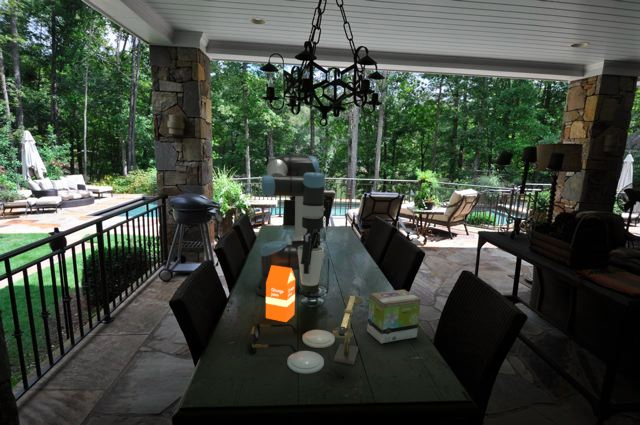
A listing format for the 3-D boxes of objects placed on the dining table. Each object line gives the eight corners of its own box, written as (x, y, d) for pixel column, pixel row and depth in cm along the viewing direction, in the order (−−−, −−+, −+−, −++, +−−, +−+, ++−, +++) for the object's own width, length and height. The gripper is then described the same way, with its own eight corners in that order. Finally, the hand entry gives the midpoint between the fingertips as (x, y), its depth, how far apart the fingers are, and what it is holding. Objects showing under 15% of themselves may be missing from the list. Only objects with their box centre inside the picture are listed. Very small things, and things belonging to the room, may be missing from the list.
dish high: (298, 344, 120) (298, 341, 120) (307, 329, 130) (307, 326, 130) (330, 350, 117) (330, 346, 117) (337, 334, 128) (337, 331, 127)
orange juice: (286, 322, 136) (287, 271, 133) (265, 318, 139) (266, 267, 136) (294, 314, 143) (296, 265, 140) (274, 310, 146) (275, 262, 143)
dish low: (282, 369, 105) (282, 365, 105) (294, 350, 116) (294, 347, 116) (318, 376, 103) (318, 372, 103) (327, 356, 113) (327, 353, 113)
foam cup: (319, 288, 126) (320, 252, 124) (294, 285, 128) (294, 250, 126) (324, 279, 136) (326, 246, 133) (300, 277, 137) (301, 243, 135)
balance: (343, 338, 125) (345, 291, 123) (360, 340, 124) (363, 293, 121) (329, 373, 105) (331, 317, 102) (349, 376, 103) (352, 320, 101)
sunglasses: (297, 355, 114) (297, 340, 113) (248, 355, 113) (248, 340, 112) (297, 333, 128) (297, 320, 127) (253, 334, 127) (253, 320, 126)
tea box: (382, 345, 122) (384, 303, 119) (366, 331, 131) (368, 292, 129) (418, 337, 128) (421, 297, 125) (400, 325, 137) (403, 287, 135)
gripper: (314, 223, 116) (312, 289, 120) (330, 212, 137) (327, 269, 141) (292, 221, 118) (290, 286, 122) (311, 211, 139) (309, 267, 143)
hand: (310, 277), depth 131 cm, fingers closed on foam cup, 9 cm apart
